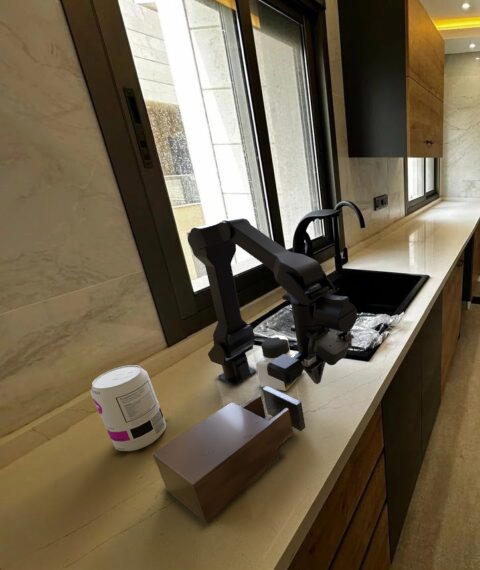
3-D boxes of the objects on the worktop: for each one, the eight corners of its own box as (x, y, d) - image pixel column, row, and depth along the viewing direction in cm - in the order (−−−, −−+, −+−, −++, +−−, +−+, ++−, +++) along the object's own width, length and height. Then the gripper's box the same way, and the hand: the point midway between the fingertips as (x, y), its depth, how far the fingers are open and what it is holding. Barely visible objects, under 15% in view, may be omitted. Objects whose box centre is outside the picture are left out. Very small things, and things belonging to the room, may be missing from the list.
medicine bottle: (286, 391, 80) (278, 349, 75) (260, 387, 81) (251, 345, 77) (302, 374, 86) (295, 334, 82) (277, 370, 88) (270, 331, 83)
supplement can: (109, 460, 61) (79, 396, 56) (122, 429, 68) (97, 370, 63) (162, 444, 65) (139, 382, 59) (170, 416, 72) (149, 359, 66)
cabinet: (240, 435, 67) (232, 401, 64) (279, 458, 62) (272, 423, 59) (166, 490, 56) (152, 453, 53) (206, 523, 51) (192, 484, 48)
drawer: (276, 407, 73) (271, 382, 71) (310, 423, 69) (306, 397, 66) (215, 452, 62) (207, 424, 60) (251, 475, 58) (243, 446, 55)
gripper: (301, 353, 56) (312, 423, 62) (368, 311, 71) (371, 371, 77) (258, 337, 61) (272, 404, 66) (329, 301, 76) (335, 358, 82)
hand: (317, 382), depth 73 cm, fingers closed
